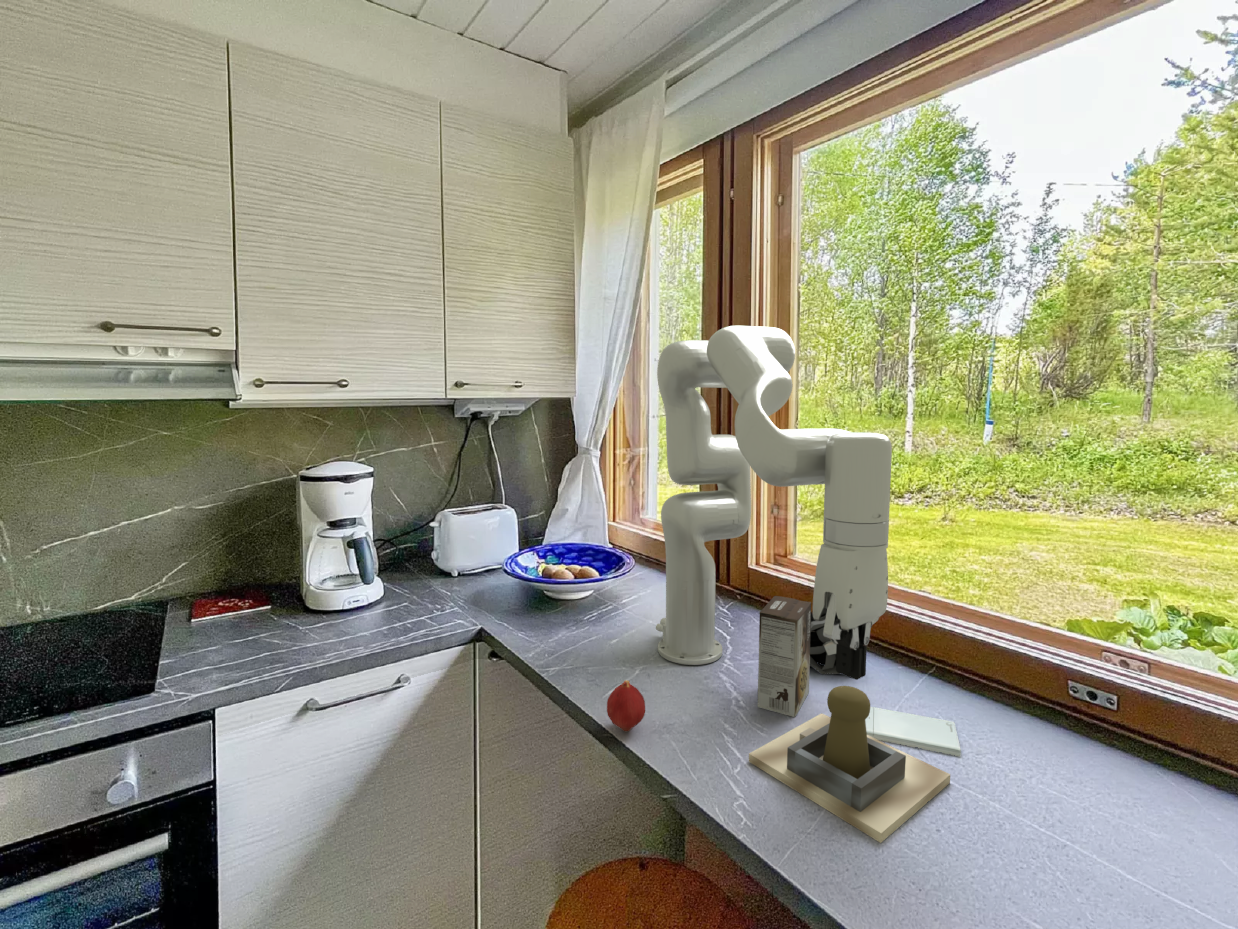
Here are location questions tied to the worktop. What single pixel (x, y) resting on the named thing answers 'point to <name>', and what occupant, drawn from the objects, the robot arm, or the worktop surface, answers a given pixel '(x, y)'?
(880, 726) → the hard drive
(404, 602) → the worktop surface
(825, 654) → the cpu cooler
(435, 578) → the worktop surface
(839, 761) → the cork
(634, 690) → the onion
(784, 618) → the coffee box
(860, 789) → the board
